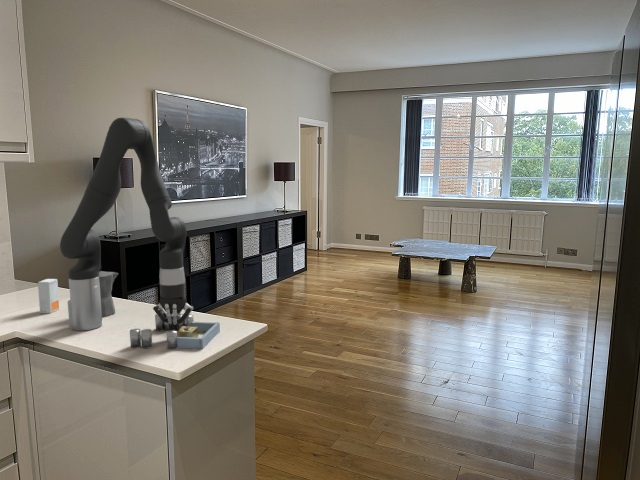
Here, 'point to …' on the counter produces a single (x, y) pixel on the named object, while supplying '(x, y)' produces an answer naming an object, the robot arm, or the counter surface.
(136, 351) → the counter surface
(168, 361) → the counter surface
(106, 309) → the coffeepot
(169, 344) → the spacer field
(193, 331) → the yellow knobbed block
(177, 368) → the counter surface
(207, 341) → the parts bay
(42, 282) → the skincare box
